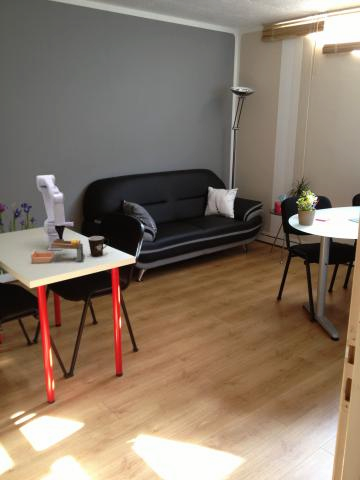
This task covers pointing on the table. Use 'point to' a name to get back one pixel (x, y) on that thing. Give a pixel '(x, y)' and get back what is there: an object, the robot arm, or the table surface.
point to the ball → (74, 242)
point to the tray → (42, 257)
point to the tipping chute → (65, 244)
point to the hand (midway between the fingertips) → (61, 238)
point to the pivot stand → (80, 254)
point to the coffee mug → (96, 245)
